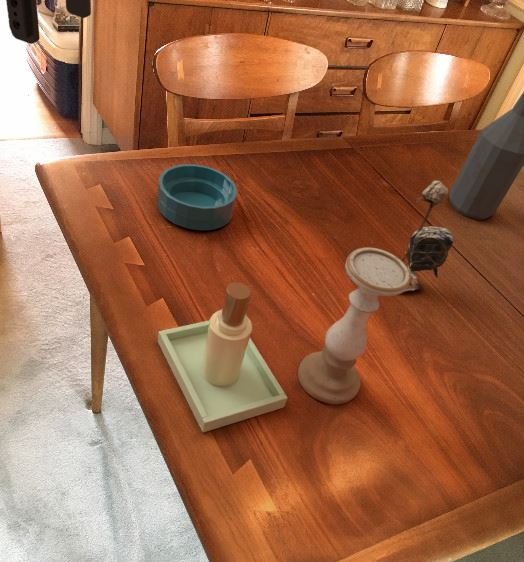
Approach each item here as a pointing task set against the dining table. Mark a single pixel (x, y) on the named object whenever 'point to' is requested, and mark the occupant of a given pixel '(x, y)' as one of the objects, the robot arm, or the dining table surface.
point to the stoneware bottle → (227, 338)
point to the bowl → (196, 197)
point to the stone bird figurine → (428, 239)
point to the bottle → (491, 166)
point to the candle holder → (352, 326)
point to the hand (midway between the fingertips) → (53, 26)
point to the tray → (214, 399)
